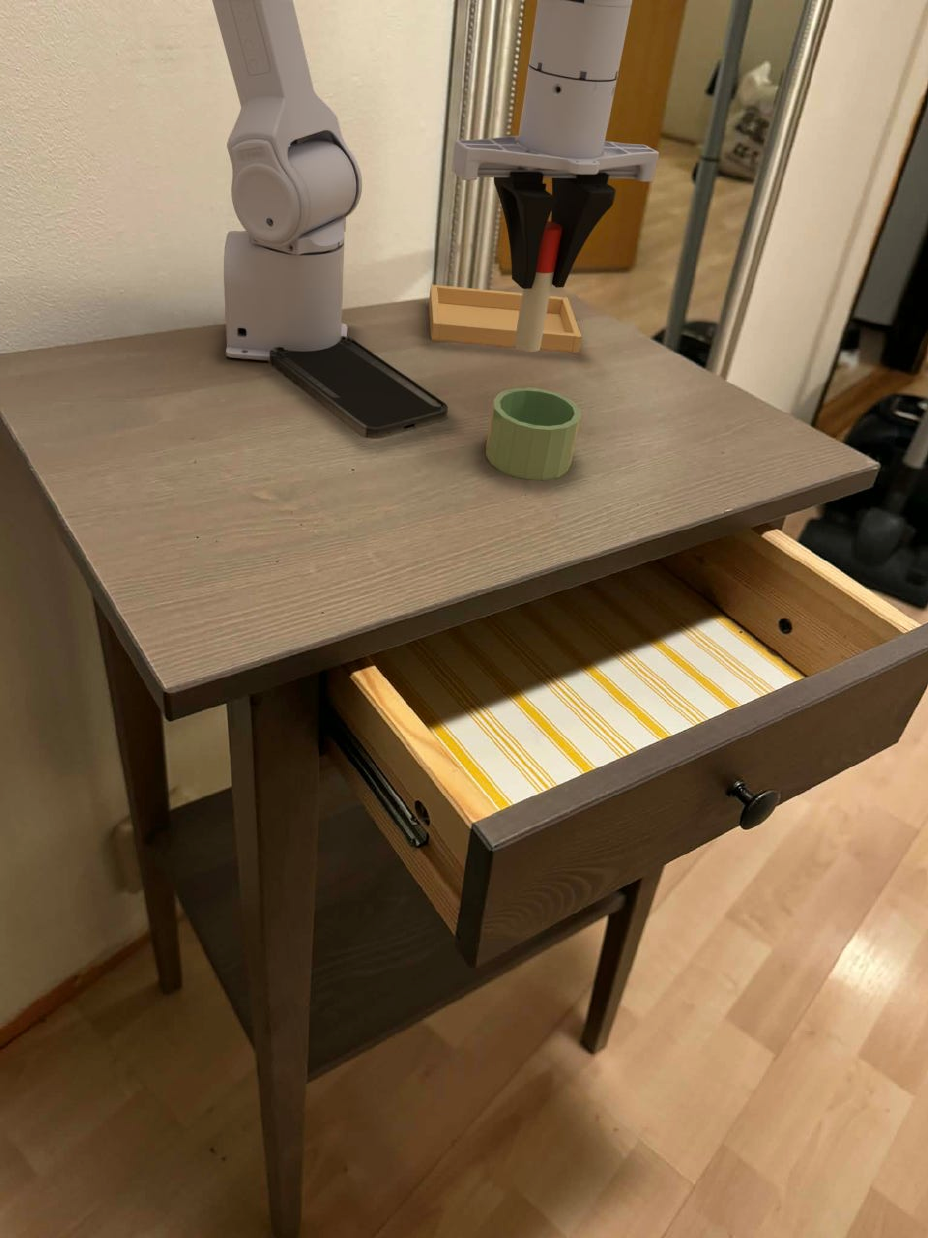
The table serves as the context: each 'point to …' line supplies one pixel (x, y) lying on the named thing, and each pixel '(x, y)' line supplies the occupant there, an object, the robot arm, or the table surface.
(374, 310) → the table surface
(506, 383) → the table surface
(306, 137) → the robot arm
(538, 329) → the marker
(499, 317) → the pen tray
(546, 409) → the pen cup
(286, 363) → the phone
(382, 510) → the table surface
